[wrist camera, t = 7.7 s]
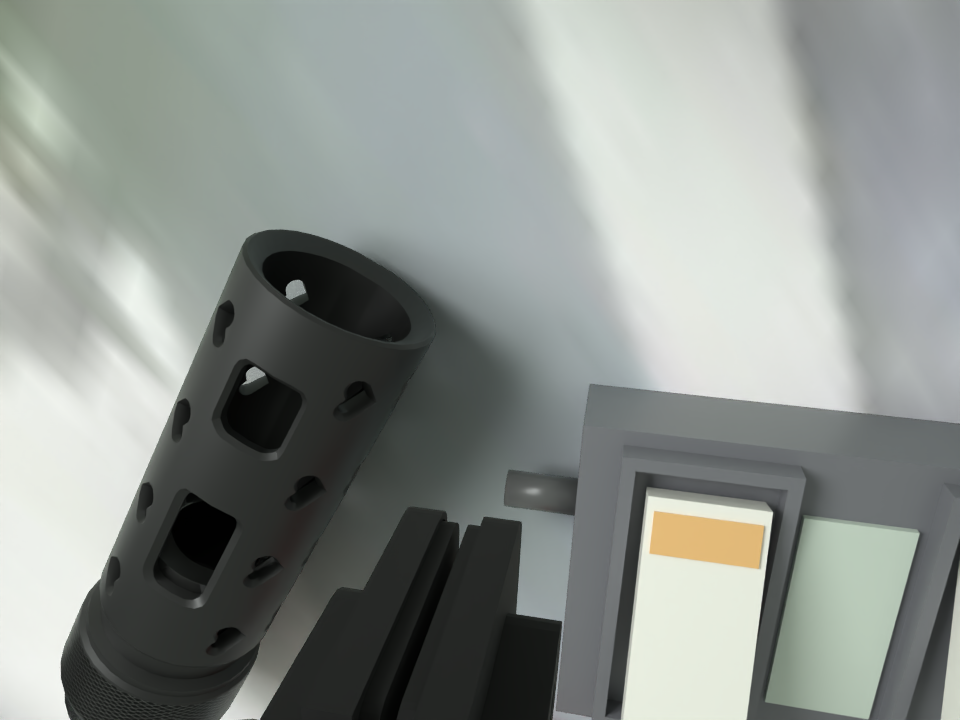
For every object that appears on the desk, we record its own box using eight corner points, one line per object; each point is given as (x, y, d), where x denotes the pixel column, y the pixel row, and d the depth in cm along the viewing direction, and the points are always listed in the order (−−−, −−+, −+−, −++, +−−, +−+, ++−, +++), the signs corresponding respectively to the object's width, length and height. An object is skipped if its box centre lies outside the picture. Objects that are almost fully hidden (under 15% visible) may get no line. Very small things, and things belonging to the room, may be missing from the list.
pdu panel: (520, 376, 39) (500, 427, 33) (1128, 442, 35) (1225, 513, 29) (503, 635, 45) (483, 716, 39) (1026, 720, 40) (1091, 826, 35)
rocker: (646, 486, 34) (648, 496, 32) (765, 501, 33) (773, 513, 32) (617, 745, 35) (617, 768, 33) (731, 766, 34) (738, 790, 33)
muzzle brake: (466, 306, 39) (410, 380, 29) (258, 666, 49) (166, 806, 40) (301, 207, 39) (191, 249, 29) (128, 589, 49) (6, 711, 40)
